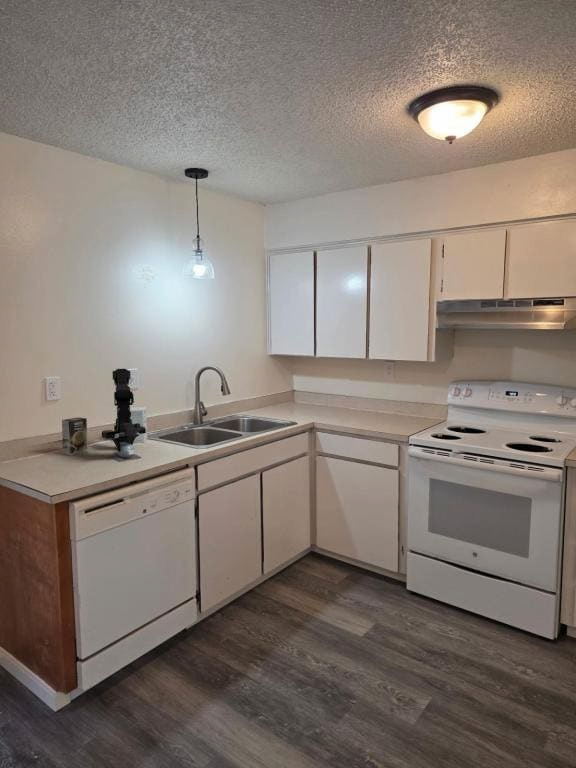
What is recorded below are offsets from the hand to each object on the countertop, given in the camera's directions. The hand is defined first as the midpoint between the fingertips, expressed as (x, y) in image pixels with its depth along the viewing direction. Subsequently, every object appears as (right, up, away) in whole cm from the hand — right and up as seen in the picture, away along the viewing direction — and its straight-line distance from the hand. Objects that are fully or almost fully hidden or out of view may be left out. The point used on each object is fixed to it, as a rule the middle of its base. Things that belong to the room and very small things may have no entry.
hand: (124, 450), depth 228 cm
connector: (+1, -2, -1) cm, 2 cm away
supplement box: (-4, +1, +33) cm, 33 cm away
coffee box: (-25, -2, +7) cm, 26 cm away
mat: (0, -3, 0) cm, 3 cm away
